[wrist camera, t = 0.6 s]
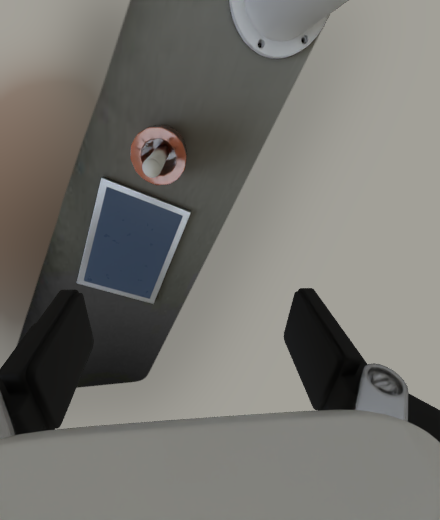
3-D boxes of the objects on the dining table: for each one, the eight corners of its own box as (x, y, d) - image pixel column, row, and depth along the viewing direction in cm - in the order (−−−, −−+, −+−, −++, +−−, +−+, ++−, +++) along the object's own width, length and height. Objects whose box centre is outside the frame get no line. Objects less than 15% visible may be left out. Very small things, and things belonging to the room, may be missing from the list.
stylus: (159, 141, 36) (143, 156, 24) (171, 147, 37) (162, 164, 24) (155, 154, 37) (138, 175, 25) (167, 159, 38) (156, 182, 25)
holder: (147, 115, 35) (138, 116, 29) (193, 138, 37) (194, 142, 31) (134, 162, 38) (123, 172, 32) (177, 181, 40) (175, 193, 34)
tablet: (102, 176, 38) (101, 177, 37) (191, 210, 42) (191, 212, 41) (78, 280, 46) (76, 283, 46) (153, 301, 50) (153, 304, 50)
